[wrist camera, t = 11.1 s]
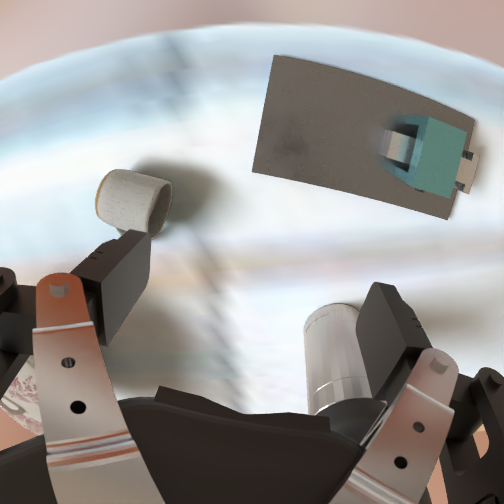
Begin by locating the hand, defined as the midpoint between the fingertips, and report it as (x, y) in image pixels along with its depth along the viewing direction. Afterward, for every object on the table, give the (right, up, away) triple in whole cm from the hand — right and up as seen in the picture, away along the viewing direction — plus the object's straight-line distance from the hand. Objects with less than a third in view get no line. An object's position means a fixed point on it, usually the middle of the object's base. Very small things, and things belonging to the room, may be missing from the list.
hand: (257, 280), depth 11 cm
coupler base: (+14, +14, +23) cm, 31 cm away
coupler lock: (+20, +13, +22) cm, 32 cm away
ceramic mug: (-14, +7, +29) cm, 33 cm away
